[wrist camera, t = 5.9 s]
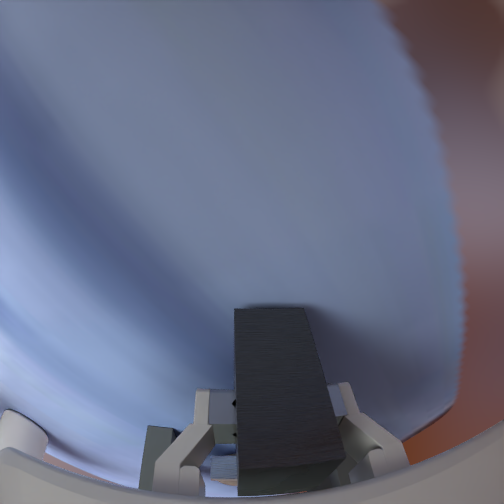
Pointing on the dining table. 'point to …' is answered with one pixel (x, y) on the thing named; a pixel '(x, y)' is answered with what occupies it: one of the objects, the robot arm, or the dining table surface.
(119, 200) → the dining table surface
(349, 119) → the dining table surface
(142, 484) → the cabinet
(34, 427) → the can
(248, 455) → the block
